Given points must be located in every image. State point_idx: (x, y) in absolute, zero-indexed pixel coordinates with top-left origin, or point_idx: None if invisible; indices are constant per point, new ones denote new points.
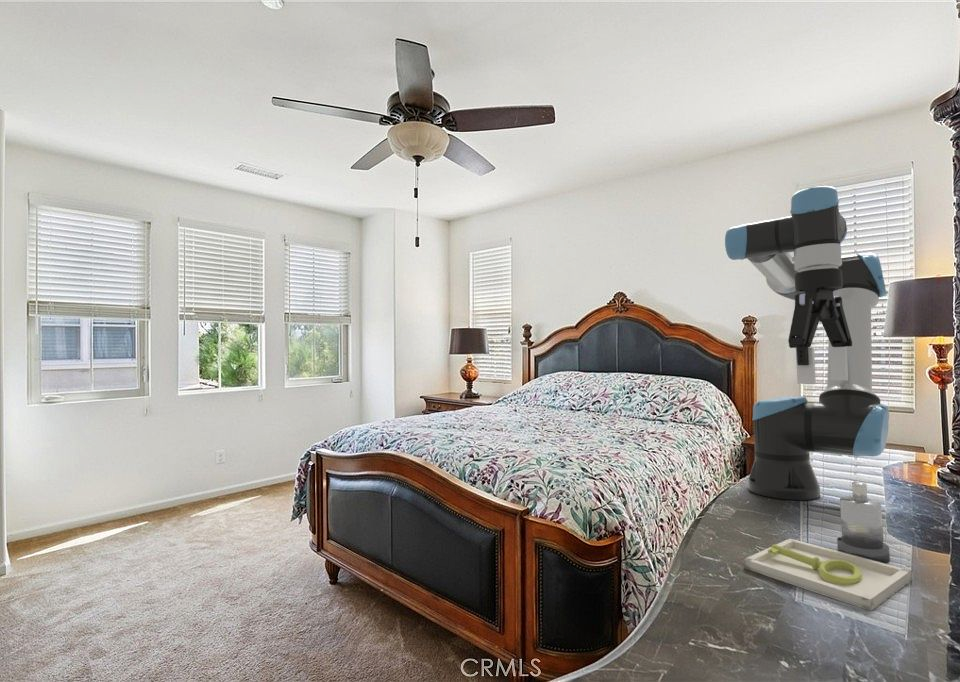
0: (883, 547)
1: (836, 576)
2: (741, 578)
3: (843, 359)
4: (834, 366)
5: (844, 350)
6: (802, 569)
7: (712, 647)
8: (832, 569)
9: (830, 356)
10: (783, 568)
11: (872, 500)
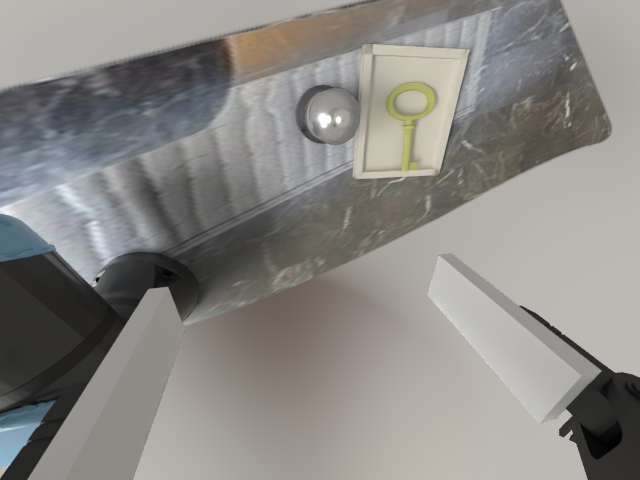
0: (320, 91)
1: (434, 95)
2: (454, 162)
3: (121, 387)
4: (157, 375)
5: (78, 460)
6: (413, 135)
7: (570, 112)
8: None
9: (141, 448)
10: (421, 147)
11: (317, 107)
